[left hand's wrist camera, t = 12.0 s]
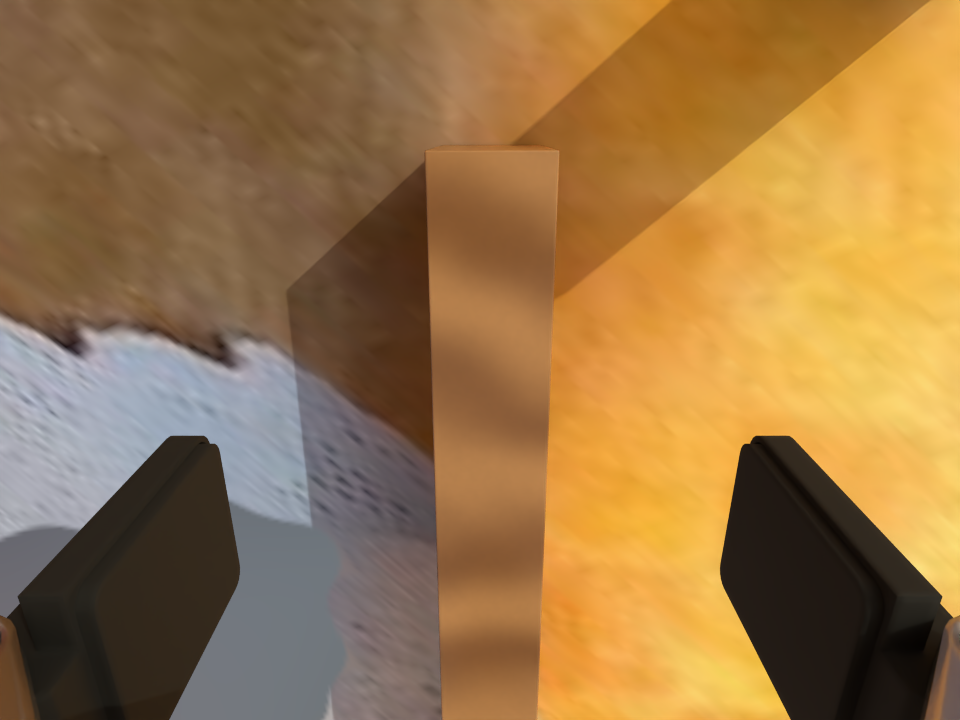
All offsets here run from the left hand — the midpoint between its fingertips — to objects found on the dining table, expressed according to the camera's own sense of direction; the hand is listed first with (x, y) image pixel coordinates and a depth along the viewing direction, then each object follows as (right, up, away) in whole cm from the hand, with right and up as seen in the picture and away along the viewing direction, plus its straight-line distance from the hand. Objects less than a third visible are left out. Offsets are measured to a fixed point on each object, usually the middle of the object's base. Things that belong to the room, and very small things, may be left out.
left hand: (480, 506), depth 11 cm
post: (+1, -17, +29) cm, 34 cm away
